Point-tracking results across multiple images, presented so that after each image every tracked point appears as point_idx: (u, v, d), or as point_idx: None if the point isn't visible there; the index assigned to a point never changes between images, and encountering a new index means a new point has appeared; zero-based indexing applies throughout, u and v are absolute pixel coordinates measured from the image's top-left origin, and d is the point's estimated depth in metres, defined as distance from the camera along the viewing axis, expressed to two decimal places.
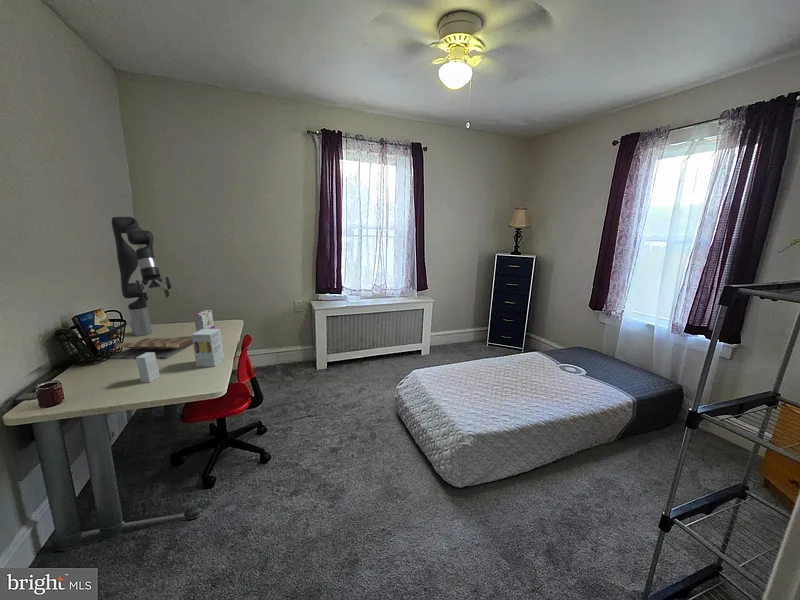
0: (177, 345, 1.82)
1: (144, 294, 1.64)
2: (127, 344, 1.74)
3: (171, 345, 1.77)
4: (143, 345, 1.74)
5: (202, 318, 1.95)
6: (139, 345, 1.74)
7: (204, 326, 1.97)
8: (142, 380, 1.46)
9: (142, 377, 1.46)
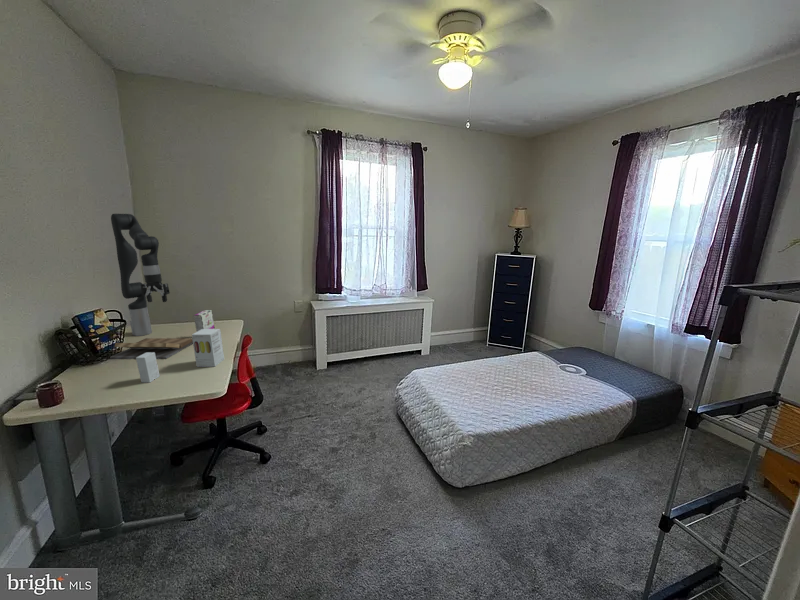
0: (177, 345, 1.82)
1: (147, 297, 1.85)
2: (127, 344, 1.74)
3: (171, 345, 1.77)
4: (143, 345, 1.74)
5: (202, 318, 1.95)
6: (139, 345, 1.74)
7: (204, 326, 1.97)
8: (142, 380, 1.46)
9: (142, 377, 1.46)
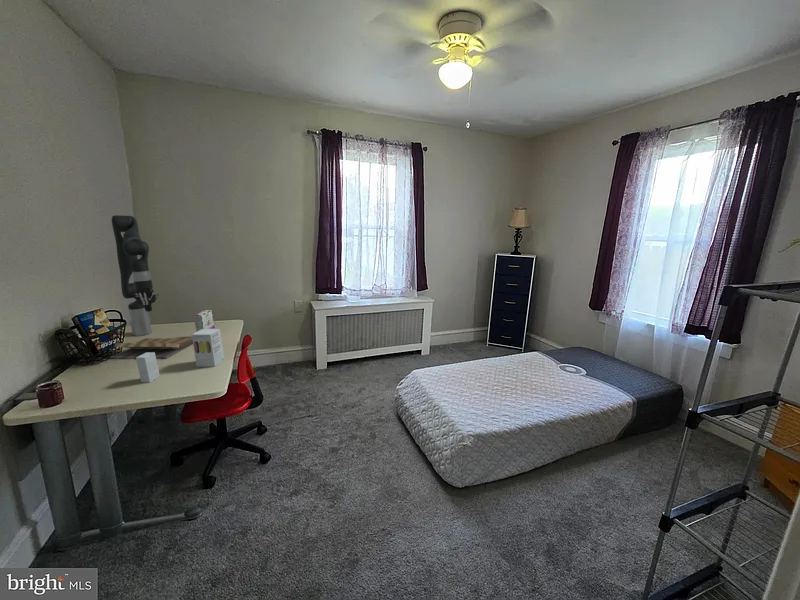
0: (177, 345, 1.82)
1: (145, 306, 1.77)
2: (127, 344, 1.74)
3: (171, 345, 1.77)
4: (143, 345, 1.74)
5: (202, 318, 1.95)
6: (139, 345, 1.74)
7: (204, 326, 1.97)
8: (142, 380, 1.46)
9: (142, 377, 1.46)
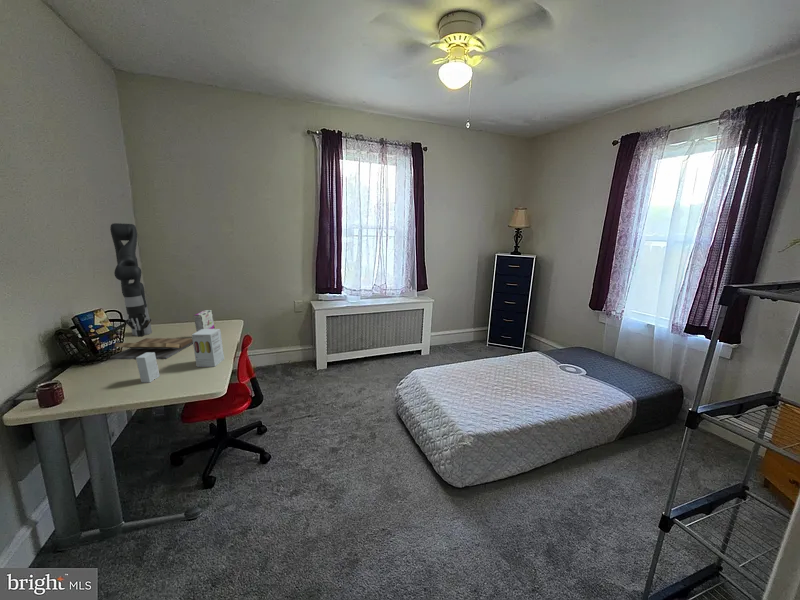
0: (177, 345, 1.82)
1: (137, 331, 1.73)
2: (127, 344, 1.74)
3: (171, 345, 1.77)
4: (143, 345, 1.74)
5: (202, 318, 1.95)
6: (139, 345, 1.74)
7: (204, 326, 1.97)
8: (142, 380, 1.46)
9: (142, 377, 1.46)
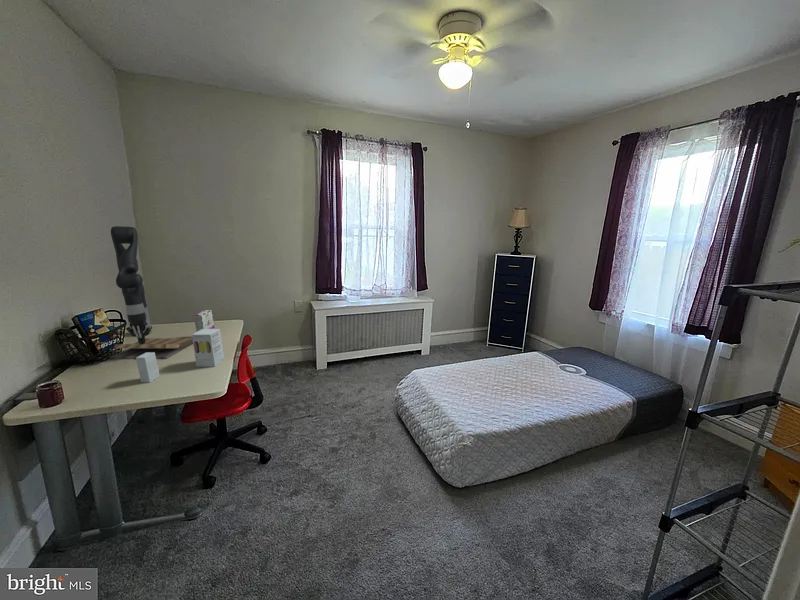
0: (177, 345, 1.82)
1: (138, 339, 1.74)
2: (127, 345, 1.74)
3: (171, 346, 1.77)
4: (143, 346, 1.74)
5: (202, 318, 1.95)
6: (139, 346, 1.74)
7: (204, 326, 1.97)
8: (142, 380, 1.46)
9: (142, 377, 1.46)
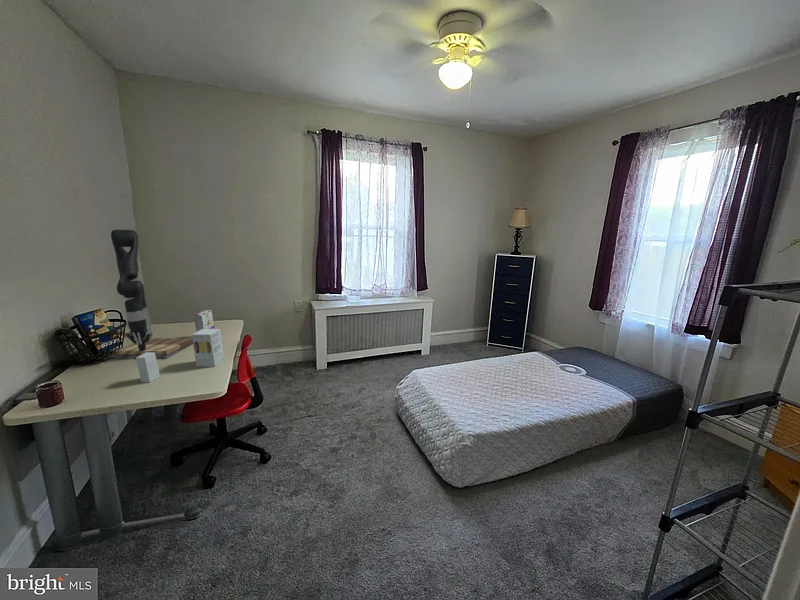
0: (177, 346, 1.82)
1: (138, 345, 1.74)
2: (128, 352, 1.75)
3: (172, 350, 1.78)
4: None
5: (202, 318, 1.95)
6: (140, 353, 1.75)
7: (204, 326, 1.97)
8: (142, 380, 1.46)
9: (142, 377, 1.46)
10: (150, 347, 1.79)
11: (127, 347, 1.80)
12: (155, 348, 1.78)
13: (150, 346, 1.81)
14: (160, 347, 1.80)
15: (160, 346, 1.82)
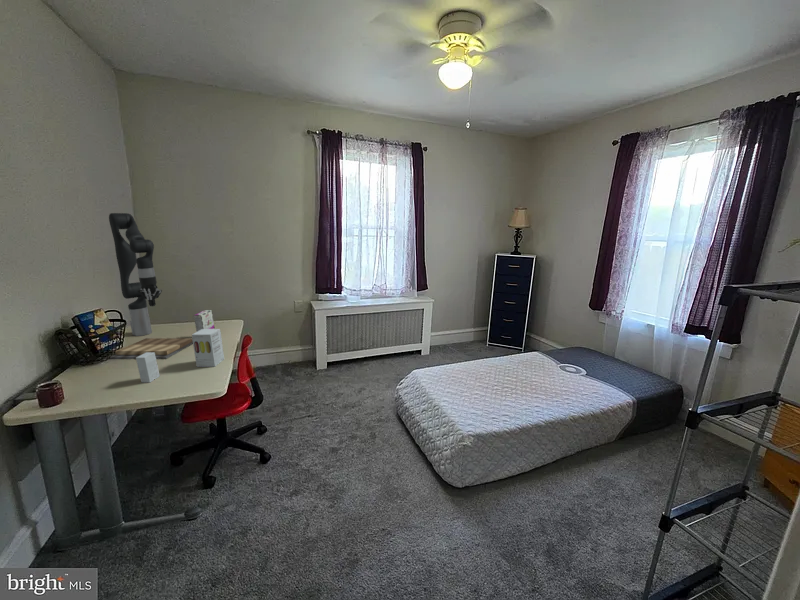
0: (177, 346, 1.82)
1: (149, 301, 1.86)
2: (128, 352, 1.75)
3: (172, 350, 1.78)
4: None
5: (202, 318, 1.95)
6: (140, 353, 1.75)
7: (204, 326, 1.97)
8: (142, 380, 1.46)
9: (142, 377, 1.46)
10: (150, 348, 1.79)
11: (127, 347, 1.80)
12: (155, 348, 1.78)
13: (150, 346, 1.81)
14: (160, 347, 1.80)
15: (160, 346, 1.82)
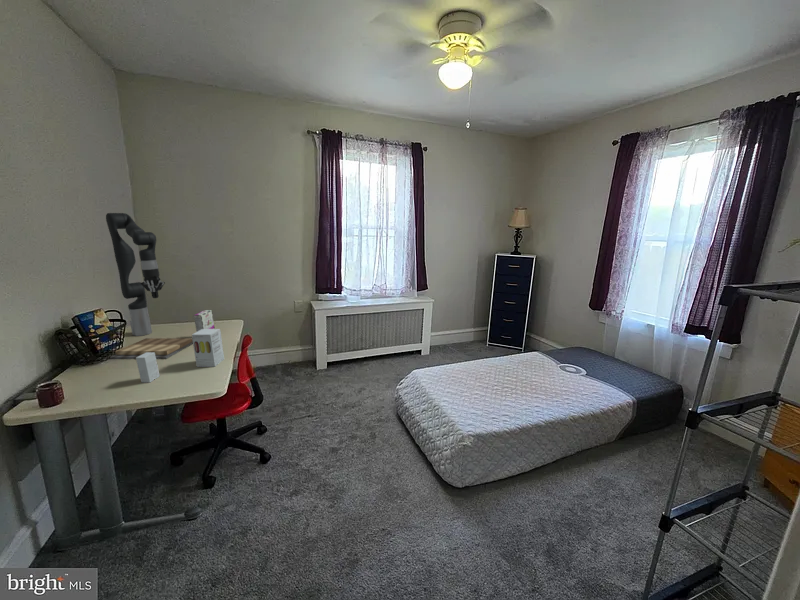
0: (177, 346, 1.82)
1: (152, 293, 1.89)
2: (128, 352, 1.75)
3: (172, 350, 1.78)
4: None
5: (202, 318, 1.95)
6: (140, 353, 1.75)
7: (204, 326, 1.97)
8: (142, 380, 1.46)
9: (142, 377, 1.46)
10: (150, 348, 1.79)
11: (127, 347, 1.80)
12: (155, 348, 1.78)
13: (150, 346, 1.81)
14: (160, 347, 1.80)
15: (160, 346, 1.82)
